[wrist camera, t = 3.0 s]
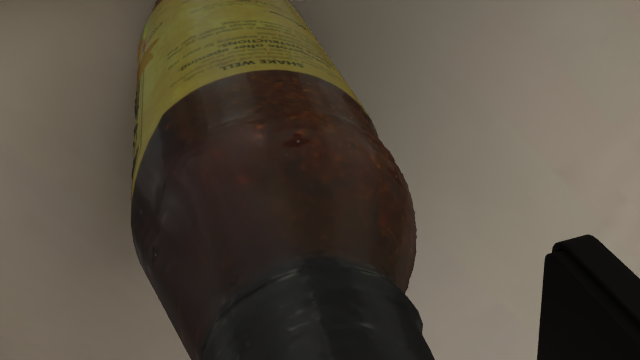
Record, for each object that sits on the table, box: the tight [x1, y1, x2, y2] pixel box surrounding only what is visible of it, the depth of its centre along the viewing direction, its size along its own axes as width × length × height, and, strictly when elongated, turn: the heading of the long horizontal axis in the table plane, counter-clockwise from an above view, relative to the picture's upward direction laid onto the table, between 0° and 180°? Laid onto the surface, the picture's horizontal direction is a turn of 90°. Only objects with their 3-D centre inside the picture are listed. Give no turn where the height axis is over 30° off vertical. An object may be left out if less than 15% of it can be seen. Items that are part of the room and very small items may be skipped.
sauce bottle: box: [131, 0, 435, 360], centre depth 15 cm, size 7×6×20 cm
